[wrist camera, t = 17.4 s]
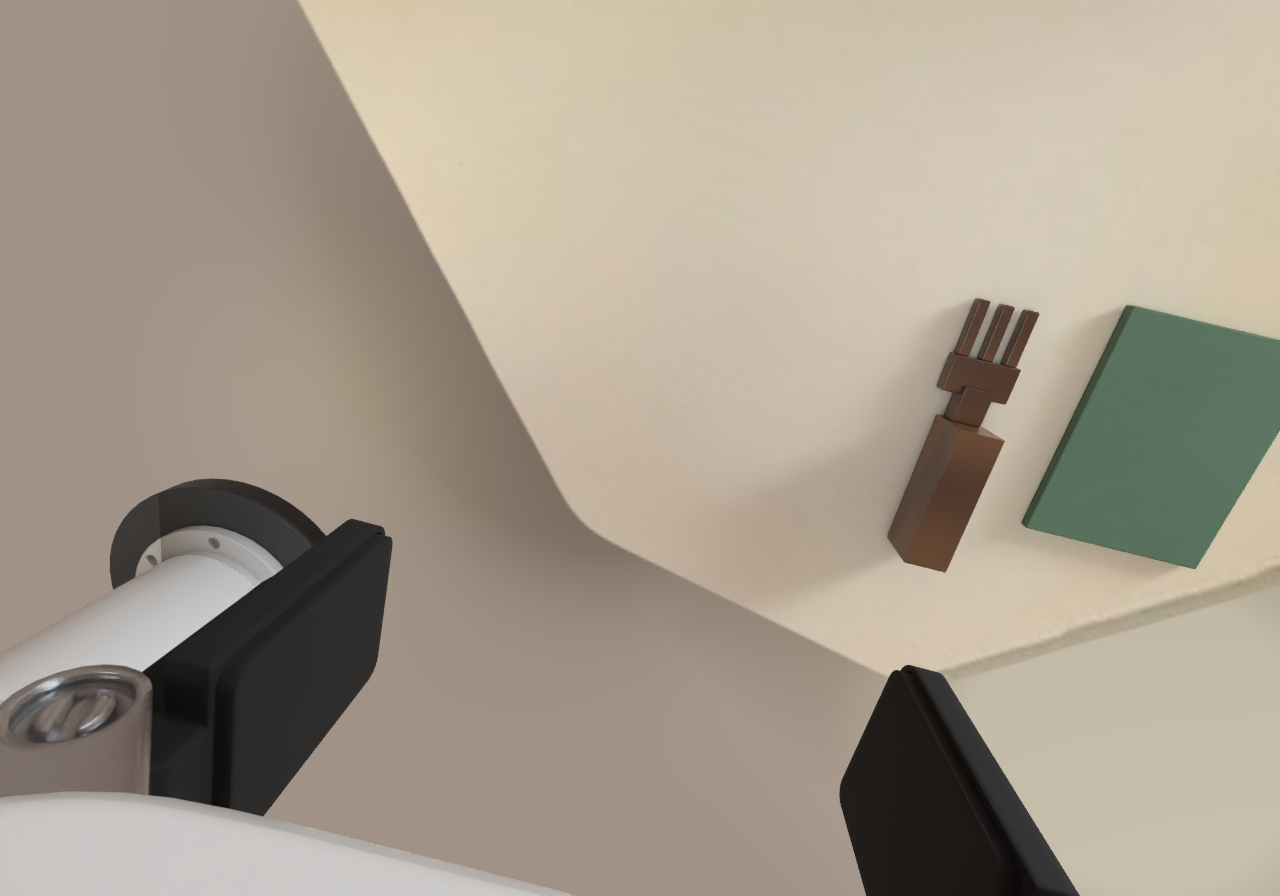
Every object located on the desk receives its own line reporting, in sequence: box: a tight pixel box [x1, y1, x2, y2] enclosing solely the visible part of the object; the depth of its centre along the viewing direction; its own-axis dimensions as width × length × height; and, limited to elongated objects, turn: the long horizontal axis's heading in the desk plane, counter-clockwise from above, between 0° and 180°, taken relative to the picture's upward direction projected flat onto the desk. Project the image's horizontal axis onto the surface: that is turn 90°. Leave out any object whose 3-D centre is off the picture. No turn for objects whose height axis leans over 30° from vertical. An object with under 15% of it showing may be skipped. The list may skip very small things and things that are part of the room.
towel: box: [1022, 306, 1280, 569], centre depth 33 cm, size 13×10×1 cm
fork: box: [887, 299, 1039, 572], centre depth 32 cm, size 14×4×3 cm, turn 167°
